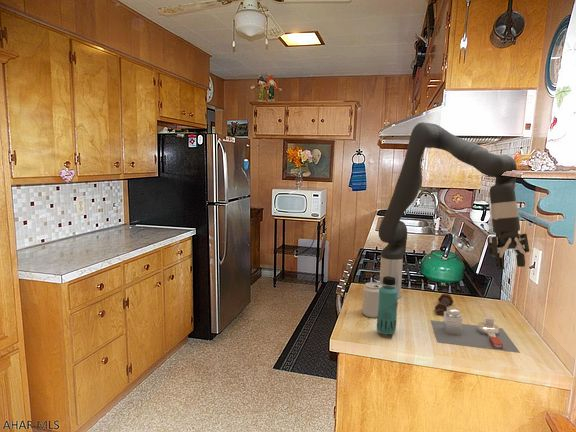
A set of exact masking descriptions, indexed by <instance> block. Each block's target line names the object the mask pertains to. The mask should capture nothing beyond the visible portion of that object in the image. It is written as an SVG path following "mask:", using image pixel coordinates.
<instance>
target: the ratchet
mask: <svg viewBox="0 0 576 432" xmlns="http://www.w3.org/2000/svg"><path fill="white" fill-rule="evenodd" d="M494 323H495V320H494V318H493V317H492V316H488V315H487V316H486V315H485V316H483V322H482V321H481V322H478V323H477V326H478V328H477V331H478V332H479V333H481V334H483V335H486V336H487V337H488V338H489V342H490V343H491V345H492V347H493V348H497V349H503V343H502V342H501V341H500V339H499V338H498V337H496V336H498V332H499V328H500V327H499V326H498V325H496V324H494Z"/></svg>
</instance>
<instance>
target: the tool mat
mask: <svg viewBox="0 0 576 432" xmlns="http://www.w3.org/2000/svg"><path fill="white" fill-rule="evenodd" d="M429 322H430V324H431V326H432V329H433V334H434V336H435V340H436V343H438V344H446V345H452V346H453V345H455V346H460V347H461V346H462V347H469V348H477V349H486V350H487V349H488V350H494V351H500V352H509V353H519V354H521V352H520V350H519V349H518V347H517V346H516V345H515V343H514V342H513V340H512V339H511V338H510V337H509V335H508V334H507V333H506V331H505V329H503V328H502V327H499V332H498V336H496V337H498V338H499V339H500V341H501V342H502V343H503V349H497V348H493V347H492V345H491V343H490V342H489V338H488V337H487V336H486V335H483V334H481V333H479V332H478V331H477V328H478V324H477V325H474V324H468V323H467V324H465V323H462V331H461V336H460V335H452V334H445V332H444V329H443V321H440V320H432V319H430V321H429Z"/></svg>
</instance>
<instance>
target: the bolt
mask: <svg viewBox="0 0 576 432" xmlns="http://www.w3.org/2000/svg"><path fill="white" fill-rule="evenodd" d="M437 300H438V303H437V304H436V305H435V307H434V309H435V314H436V315H437V316H441V317H444V311H447V307H449V306H452V304H454V302H455V301H454V300H453V297H452V295H451V294H448V293H442V294H441V295H440V296H439V298H438V299H437Z"/></svg>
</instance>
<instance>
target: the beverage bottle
mask: <svg viewBox="0 0 576 432" xmlns="http://www.w3.org/2000/svg"><path fill="white" fill-rule="evenodd" d="M383 284H385V285H386V286H382V287H381V288H380V289H379V302H378V316H377V318H376V330H377V331H378V332H379V333H380V334H384V335H393V334H395V333H396V330H397V319H398V318H397V315H398V314H397V313H398V311H397V310H398V304H399V303H398V298H397V297H398V290H397V289H396V288H395V287H393V286H388V285H395V278H394V277H390V276H385V277H383Z"/></svg>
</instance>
